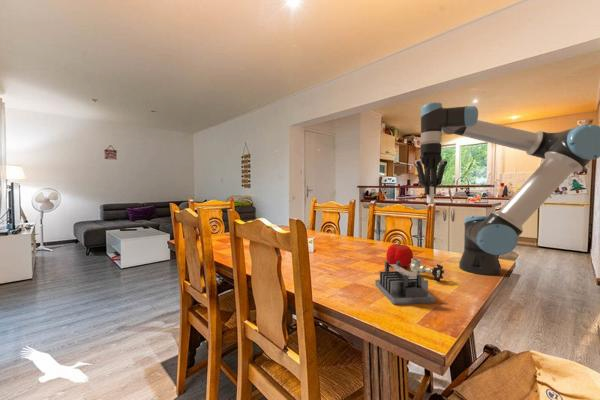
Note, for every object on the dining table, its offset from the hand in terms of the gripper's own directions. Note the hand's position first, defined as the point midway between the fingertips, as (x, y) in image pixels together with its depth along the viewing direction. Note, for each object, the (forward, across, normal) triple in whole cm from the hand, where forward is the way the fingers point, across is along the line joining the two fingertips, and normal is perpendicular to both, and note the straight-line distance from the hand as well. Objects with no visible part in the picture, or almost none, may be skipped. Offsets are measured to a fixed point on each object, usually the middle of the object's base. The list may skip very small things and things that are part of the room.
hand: (430, 202), depth 112 cm
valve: (+30, +3, +3) cm, 30 cm away
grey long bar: (+22, +19, +17) cm, 34 cm away
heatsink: (+29, +19, +18) cm, 39 cm away
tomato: (+30, +7, -13) cm, 33 cm away
